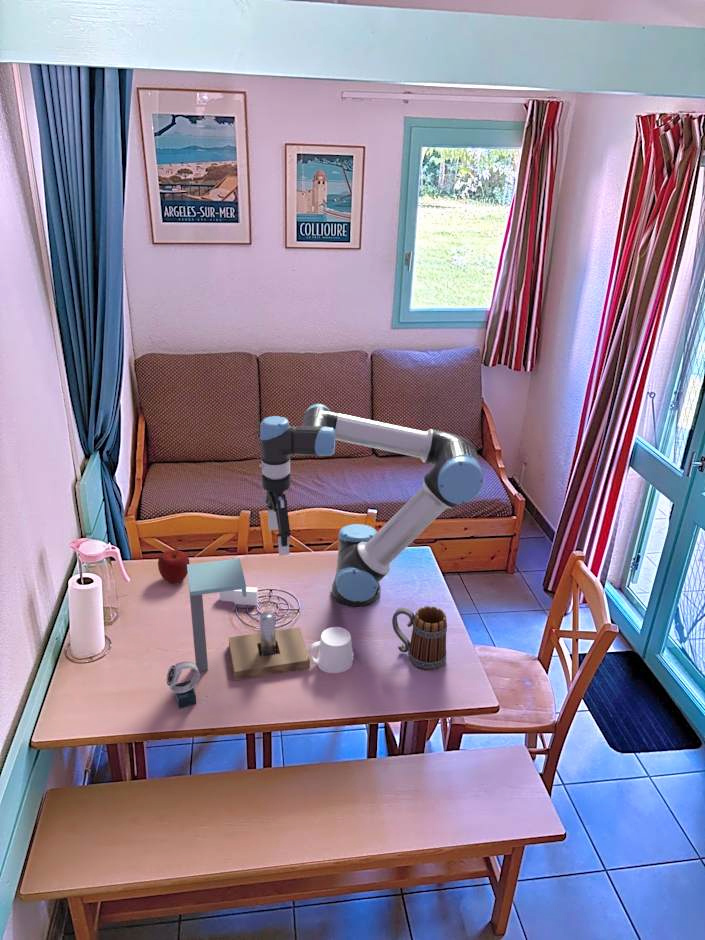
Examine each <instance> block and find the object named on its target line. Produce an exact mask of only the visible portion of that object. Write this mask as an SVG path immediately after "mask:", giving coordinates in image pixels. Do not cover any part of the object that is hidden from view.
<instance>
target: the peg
mask: <svg viewBox="0 0 705 940" xmlns="http://www.w3.org/2000/svg"><path fill="white" fill-rule="evenodd" d="M259 629H260V632H259V633H260V634H261V652H260V657H262V656H268V655H275V654H277V649H276V634H275V631H276V614H275V613H274V612H272V611H270V610H269V611H268V610H267V611H263V612H261V613H260V614H259Z"/></svg>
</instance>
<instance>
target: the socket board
mask: <svg viewBox="0 0 705 940" xmlns="http://www.w3.org/2000/svg"><path fill="white" fill-rule="evenodd" d="M275 634H276V652H277V653H276V654H275V655H268V656H262V657H261V654H260V653H261V634H260V632H258V633H251V634H243V635H237V636H229V637H228V648H229V653H230V658H231V664H232V670H233V671H232V672H233V677H234V681H235V682H236V681H240V680H241V681H242V680H249V679H253V678H261V677H266V676H272V675H273V676H274V675H278V674H285V673H292V672H298V671H299V672H300V671H304V670H310V669H311V659H310V656H309V651H308V649H307V646H306V643H305V640H304V636H303V634H302V630H301V627H292V628H285V629H278V630H277V629H276V630H275Z"/></svg>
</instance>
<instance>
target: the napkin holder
mask: <svg viewBox="0 0 705 940" xmlns="http://www.w3.org/2000/svg"><path fill="white" fill-rule="evenodd" d="M219 599H220V601H221V602H233V604H234V605H245V606H258V604H259V587H251V586H246V597H243V594H242V589H240V590H232V591H225V592H219Z"/></svg>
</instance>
